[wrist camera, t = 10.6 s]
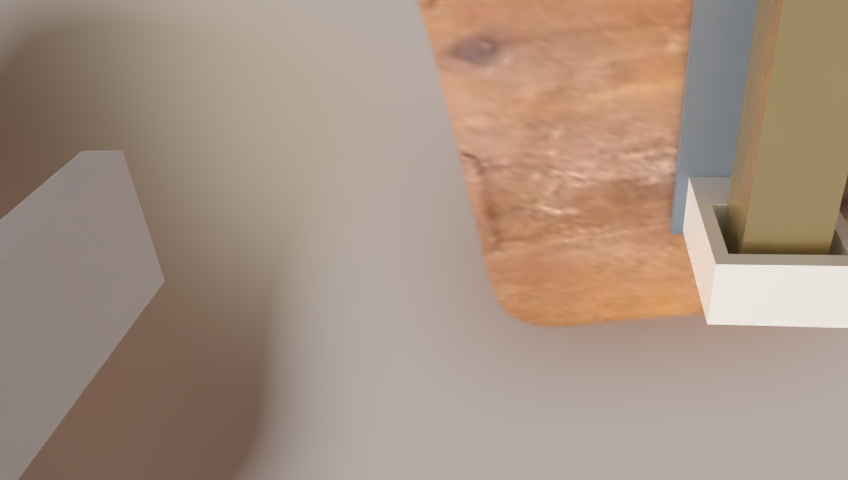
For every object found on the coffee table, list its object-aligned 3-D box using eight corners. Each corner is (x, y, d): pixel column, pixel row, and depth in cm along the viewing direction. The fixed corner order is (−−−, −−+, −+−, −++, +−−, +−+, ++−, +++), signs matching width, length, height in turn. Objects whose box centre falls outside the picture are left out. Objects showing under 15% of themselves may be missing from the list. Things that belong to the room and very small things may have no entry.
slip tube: (766, -69, 37) (790, -48, 33) (867, -74, 36) (904, -54, 32) (719, 246, 46) (734, 290, 42) (799, 247, 45) (821, 291, 42)
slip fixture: (717, -238, 37) (769, -233, 28) (919, -256, 36) (1041, -258, 27) (669, 226, 51) (693, 327, 42) (812, 226, 50) (869, 332, 41)
